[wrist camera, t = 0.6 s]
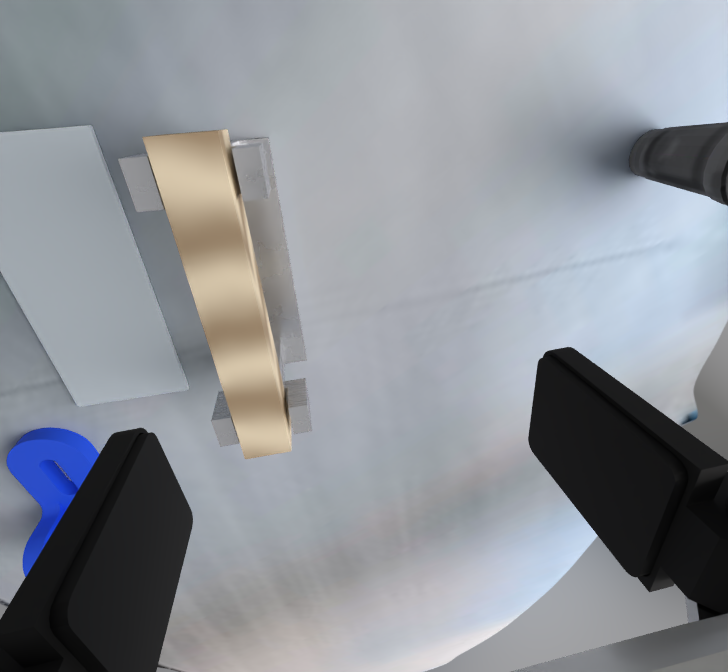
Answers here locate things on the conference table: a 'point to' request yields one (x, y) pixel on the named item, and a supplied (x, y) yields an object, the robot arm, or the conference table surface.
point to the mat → (81, 268)
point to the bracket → (50, 477)
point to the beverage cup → (685, 158)
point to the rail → (224, 280)
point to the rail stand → (271, 263)
